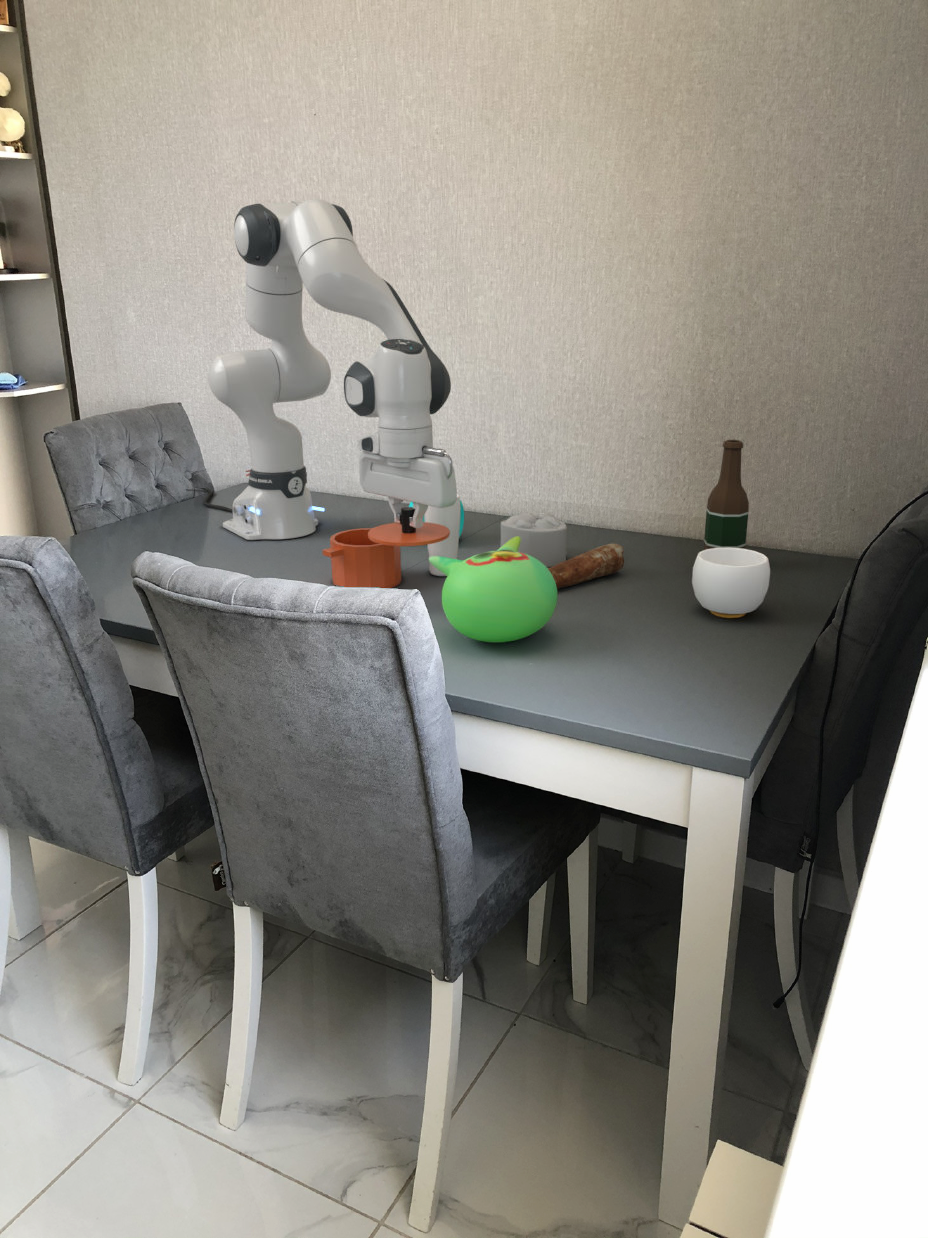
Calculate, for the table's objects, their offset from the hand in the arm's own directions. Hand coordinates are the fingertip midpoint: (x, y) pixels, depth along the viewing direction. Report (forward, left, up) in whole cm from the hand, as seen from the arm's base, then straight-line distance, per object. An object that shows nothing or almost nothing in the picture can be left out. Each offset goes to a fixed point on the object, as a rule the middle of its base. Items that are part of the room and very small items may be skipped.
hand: (408, 525), depth 163 cm
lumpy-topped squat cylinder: (-1, +35, -14) cm, 38 cm away
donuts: (-25, +31, -14) cm, 42 cm away
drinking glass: (-8, +16, -14) cm, 23 cm away
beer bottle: (+29, +55, -14) cm, 64 cm away
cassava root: (+15, +29, -14) cm, 36 cm away
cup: (+43, +32, -14) cm, 55 cm away
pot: (-15, +3, -14) cm, 21 cm away
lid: (0, 0, -2) cm, 2 cm away
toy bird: (+22, -2, -14) cm, 26 cm away
